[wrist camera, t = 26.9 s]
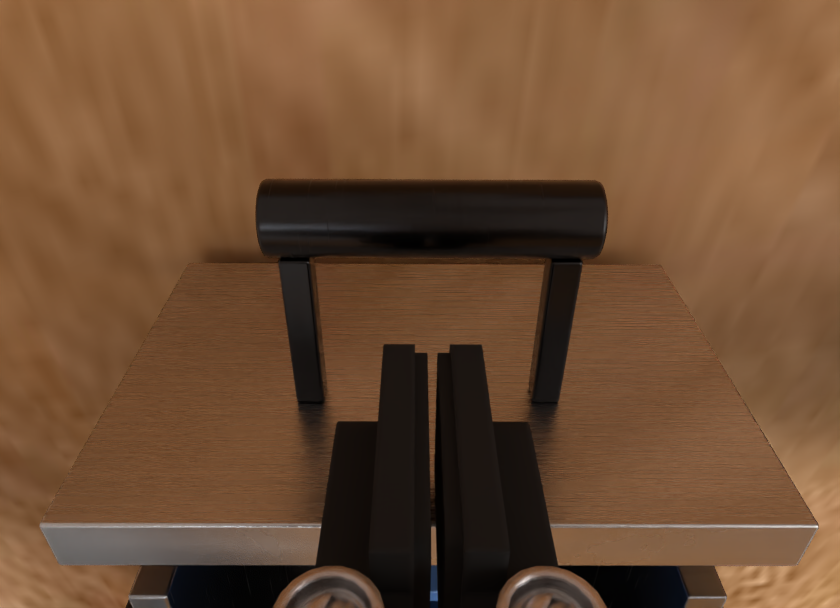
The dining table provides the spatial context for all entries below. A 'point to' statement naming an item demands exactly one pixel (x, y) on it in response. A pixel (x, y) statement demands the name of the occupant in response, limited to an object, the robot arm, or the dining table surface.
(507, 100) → the dining table surface
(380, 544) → the robot arm
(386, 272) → the drawer
